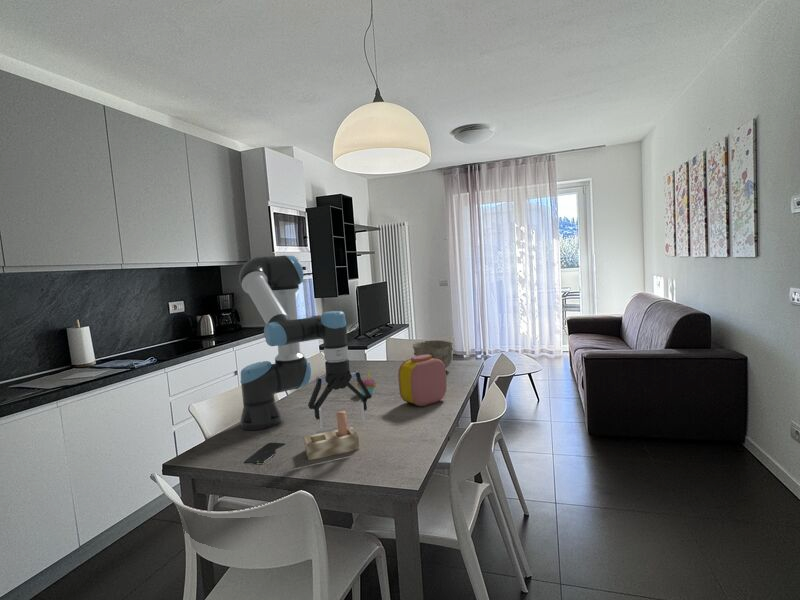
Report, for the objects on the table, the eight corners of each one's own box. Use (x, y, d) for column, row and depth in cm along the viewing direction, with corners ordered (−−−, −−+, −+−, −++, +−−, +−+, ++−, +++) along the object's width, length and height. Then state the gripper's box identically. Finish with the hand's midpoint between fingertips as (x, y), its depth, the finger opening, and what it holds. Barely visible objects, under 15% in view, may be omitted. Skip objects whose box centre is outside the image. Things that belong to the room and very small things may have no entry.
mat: (321, 443, 146) (321, 442, 146) (316, 433, 155) (316, 432, 155) (350, 437, 149) (350, 436, 149) (343, 427, 158) (343, 426, 158)
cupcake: (377, 391, 201) (376, 366, 200) (375, 397, 193) (373, 370, 192) (359, 392, 202) (357, 366, 201) (356, 397, 194) (354, 371, 193)
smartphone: (288, 442, 147) (263, 463, 132) (288, 445, 147) (263, 465, 133) (268, 441, 149) (242, 461, 134) (268, 444, 149) (242, 464, 134)
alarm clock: (432, 394, 191) (429, 351, 190) (449, 399, 182) (446, 354, 181) (398, 404, 180) (395, 358, 179) (415, 410, 171) (411, 362, 170)
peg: (340, 451, 138) (337, 414, 137) (338, 447, 141) (335, 411, 140) (349, 449, 139) (346, 412, 138) (347, 445, 142) (344, 410, 141)
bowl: (434, 364, 246) (433, 338, 245) (463, 369, 230) (461, 342, 228) (405, 372, 233) (403, 345, 231) (433, 379, 216) (431, 349, 215)
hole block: (308, 461, 132) (307, 445, 132) (305, 451, 140) (303, 436, 139) (359, 450, 138) (358, 435, 137) (353, 441, 145) (352, 426, 145)
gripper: (298, 367, 130) (304, 436, 132) (377, 356, 139) (382, 420, 140) (295, 363, 137) (301, 428, 139) (371, 352, 146) (375, 413, 147)
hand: (342, 424), depth 140 cm, fingers open, 13 cm apart
